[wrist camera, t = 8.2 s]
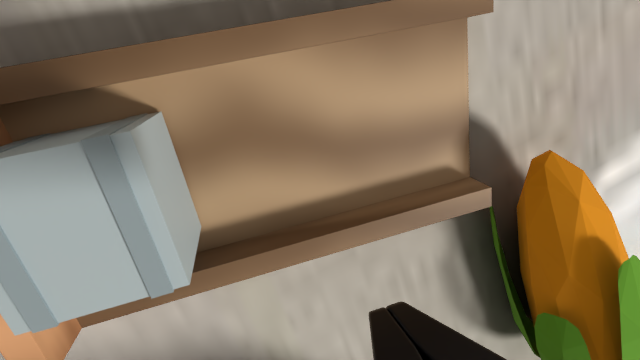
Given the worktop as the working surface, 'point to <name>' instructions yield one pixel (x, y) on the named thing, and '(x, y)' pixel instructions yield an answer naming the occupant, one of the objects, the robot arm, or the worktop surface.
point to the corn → (572, 269)
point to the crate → (92, 221)
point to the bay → (277, 134)
